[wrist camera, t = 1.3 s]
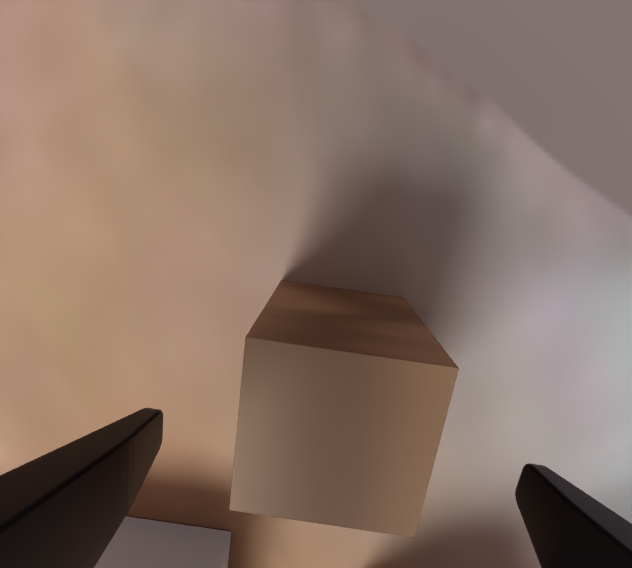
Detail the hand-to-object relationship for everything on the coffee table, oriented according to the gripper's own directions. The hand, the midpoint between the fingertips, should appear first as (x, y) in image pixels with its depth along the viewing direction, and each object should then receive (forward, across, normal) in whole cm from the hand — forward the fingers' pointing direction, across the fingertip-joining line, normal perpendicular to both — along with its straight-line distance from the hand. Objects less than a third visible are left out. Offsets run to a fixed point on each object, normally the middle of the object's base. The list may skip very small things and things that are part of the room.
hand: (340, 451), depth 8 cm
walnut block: (+6, 0, 0) cm, 6 cm away
